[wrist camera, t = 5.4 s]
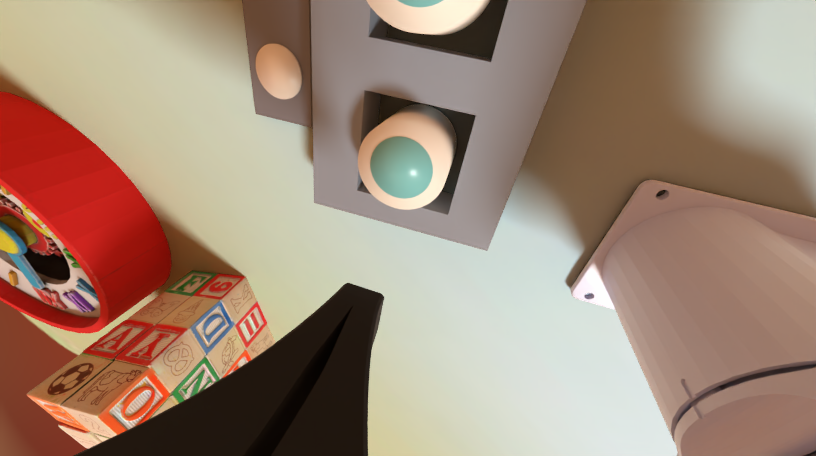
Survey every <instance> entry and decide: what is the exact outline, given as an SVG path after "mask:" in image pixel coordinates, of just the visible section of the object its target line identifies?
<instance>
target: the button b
mask: <svg viewBox="0 0 816 456" xmlns="http://www.w3.org/2000/svg"><path fill="white" fill-rule="evenodd" d="M366 1H367V2H368V4H369V5H370V7H371V8H372V9H373V10H374V11H375V13H376V14H377V15H378V16H379V17H381V18H382V19H383V20H384V21H385V22H387V23H388V24H390V25H391V26H393V27H395V28H398V29H400V30H403V31H406V32H410V33H419V34H431V35H447V34H452V33H455V32H458V31H460V30H462V29H464V28H466V27H467V26H469V25H470V24H471V23H473V22H474V21H475V20H476V19H477V18H478V17H479V16H480V15H481V14H482V12H483V11H484V10H485V8H486V7H487V5H488V4H489V2H490V0H366Z"/></svg>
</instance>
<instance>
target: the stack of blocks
mask: <svg viewBox="0 0 816 456" xmlns="http://www.w3.org/2000/svg"><path fill="white" fill-rule="evenodd" d="M273 344H275V340H274V338H273V336H272V334H271V332H270V330H269V328H268V326H267V322H266V320H265V318H264V315H263V313H262V311H261V309H260V307H259V305H258V302H257V300H256V298H255V295H254V293H253V291H252V289H251V287H250V284H249V282H248V280H247V278H246V277H244V276H235V275H226V274H214V273H206V272H197V271H191V272H190V273H188V274H187V275H186V276H184V277H183V278H181V279H180V280H179V281H177V282H176V283H175V284H173V285H172V286H171V287H169V288H168V289H167V290H165V291H164V293H163V294H161V295H159V296H158V297H157V298H155V299H154V300H152V301H151V302H150V303H148V304H147V305H146V306H144V307H143V308H142V309H140V310H139V311H137V312H136V313H135V314H134V315H132V316H131V317H129V319H128V320H125V321H123V322H122V323H120V324H119V325H118V326H116V327H115V328H113V329H112V330H111V331H110V332H108V333H107V334H106V335H104V336H103V337H101V338H100V339H99V340H98V341H97V342H95V343H93V344H92V345H91V346H89V347H88V348H86V349H85V350H84V351H83V352H82V353H81V354H80V355H79V356H77V357H76V358H75V359H73V360H72V361H71V362H69V363H68V364H67V365H65V366H64V367H63V368H61V369H60V370H58V371H57V372H56V373H54V374H53V375H52V376H50V377H49V378H47V379H46V380H45V381H43V382H42V383H41V384H39V385H38V386H37V387H36V388H34V389H33V390H31V391H30V392H29V393H27V396H28V397H30V398H31V399H32V400H33V401H35V402H36V403H37V404H38V405H39V406H41V407H42V408H43V409H45V410H46V411H47V412H48V413H49V414H51V415H52V416H53V417H54V418H55V419H57V420H58V421H60V423H59V425H58V426H59V427H60V428H61V429H62V430H64V431H65V432H66V433H68V434H69V435H70V436H72V437H73V438H74V439H75V440H76V441H78V442H79V443H80V444H81V445H83V446H84V447H85V448H88V449H89V448H91V447H93V446H95V445H97V444H99V443H101V442H103V441H106V440H108V439H110V438H112V437H114V436H116V435H118V434H120V433H122V432H124V431H127V430H129V429H131V428H133V427H135V426H137V425H139V424H141V423H143V422H145V421H147V420H148V419H150V418H152V417H154V416H156V415H158V414H160V413H162V412H164V411H165V410H167V409H169V408H171V407H173V406H175V405H177V404H179V403H180V402H182V401H184V400H186V399H188V398H190V397H192V396H193V395H195V394H197V393H199V392H200V391H202V390H204V389H206V388H207V387H209V386H211V385H212V384H214V383H216V382H217V381H219V380H220V379H222V378H224V377H225V376H227V375H229V374H230V373H232V372H234V371H235V370H237V369H238V368H240V367H241V366H243V365H244V364H246V363H247V362H249V361H251V360H252V359H254V358H255V357H256V356H258V355H259V354H261V353H262V352H264V351H265V350H267V349H268V348H269V347H271V346H272V345H273Z"/></svg>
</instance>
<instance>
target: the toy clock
mask: <svg viewBox="0 0 816 456" xmlns="http://www.w3.org/2000/svg"><path fill="white" fill-rule="evenodd" d="M170 270H171V253H170V250H169V246H168V242H167V239H166V236H165V234H164V232H163V230H162V227H161V225H160V223H159V221H158V219H157V218H156V216H155V214H154V213H153V211H152V209H151V207H150V206H149V204H148V203H147V201H146V200H145V199H144V197H143V196H142V195H141V193H140V192H139V190H138V189H137V188H136V186H135V185H134V184H133V183H132V182H131V180H130V179H129V178H128V177H127V176H126V175H125V174H124V172H123V171H122V170H121V169H120V168H119V167H118V166H117V165H116V164H115V163H114V162H113V161H112V160H111V159H110V158H109V157H108V156H107V155H106V154H105V153H104V152H103V151H102V150H101V149H100V148H99V147H98V146H97V145H96V144H94V143H93V142H92V141H91V140H89V139H88V138H87V137H86V136H84V135H83V134H82V133H81V132H80V131H78V130H77V129H76V128H75V127H73V126H72V125H70V124H69V123H67V122H66V121H64V120H63V119H61V118H60V117H58V116H57V115H55V114H54V113H52V112H50V111H49V110H47V109H45V108H43V107H41V106H39V105H37V104H35V103H33V102H31V101H30V100H27V99H24V98H21V97H19V96H16V95H13V94H11V93H7V92H1V91H0V300H1V301H3V302H5V303H6V304H8V305H10V306H12V307H13V308H15V309H17V310H18V311H20V312H23V313H25V314H27V315H29V316H31V317H33V318H35V319H37V320H39V321H42V322H44V323H46V324H49V325H51V326H54V327H57V328H60V329H64V330H67V331H72V332H77V333H93V332H98V331H100V330H101V329H103V328H104V327H105V326H107V325H108V324H109V323H111V322H112V321H114V320H115V319H116V318H118V317H119V316H120V315H122V314H123V313H125V312H126V311H127V310H129V309H130V308H131V307H133V306H134V305H136V304H137V303H138V302H140V301H141V300H142V299H144V298H145V297H147V296H148V295H149V294H151V293H152V292H153V291H155V290H156V289H157V288H159V287H160V286H162V285H163V284H164V283H165V282H166V280H167V279H168V277H169V275H170Z"/></svg>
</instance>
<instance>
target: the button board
mask: <svg viewBox="0 0 816 456" xmlns="http://www.w3.org/2000/svg"><path fill="white" fill-rule="evenodd" d="M586 2H587V0H508V2H507V6H506V9H505V13H504V17H503V20H502V24H501V27H500V31H499V34H498V38H497V42H496V45H495V49H494V52H493V56H492V59H490V58H486V57H481V56H476V55H471V54H466V53H461V52H456V51H451V50H446V49H442V48H437V47H432V46H427V45H422V44H417V43H412V42H407V41H402V40H397V39H393V38H388V37H387V30H388V23H387V22H385V21H384V20H383V19H382V18H381V17H379V16H378V15H377V14H376V13H375V11H374V10H373V9H372V8H371V7H370V5H369V4H368V2H367V1H366V0H311V47H312V106H313V166H314V203H317V204H320V205H324V206H328V207H331V208H335V209H339V210H342V211H346V212H349V213H353V214H357V215H360V216H364V217H367V218H371V219H375V220H378V221H382V222H385V223H389V224H393V225H396V226H400V227H403V228H407V229H411V230H414V231H418V232H421V233H425V234H429V235H432V236H436V237H439V238H443V239H447V240H450V241H454V242H457V243H461V244H465V245H468V246H472V247H475V248H479V249H483V250H486V251H487V250H488V247H489V245H490V242H491V240H492V237H493V235H494V232H495V230H496V227H497V225H498V222H499V220H500V217H501V215H502V212H503V210H504V207H505V205H506V202H507V200H508V197H509V195H510V192H511V190H512V187H513V185H514V182H515V180H516V177H517V175H518V172H519V170H520V167H521V165H522V162H523V160H524V157H525V155H526V152H527V150H528V147H529V145H530V142H531V140H532V137H533V135H534V132H535V130H536V127H537V125H538V122H539V120H540V117H541V115H542V112H543V110H544V107H545V105H546V102H547V99H548V97H549V94H550V92H551V89H552V87H553V84H554V82H555V79H556V77H557V74H558V72H559V69H560V67H561V64H562V62H563V59H564V57H565V54H566V52H567V49H568V47H569V44H570V42H571V39H572V37H573V34H574V32H575V29H576V27H577V24H578V22H579V19H580V17H581V14H582V12H583V9H584V7H585V4H586ZM381 94H384V95H388V96H393V97H397V98H402V99H406V100H410V101H415V102H419V103H424V104H428V105H432V106H437V107H441V108H446V109H450V110H454V111H459V112H463V113H468V114H472V115H476V117H475V120H474V124H473V127H472V131H471V134H470V138H469V142H468V145H467V149H466V152H465V156H464V159H463V163H462V167H461V170H460V174H459V177H458V181H457V184H456V188H455V192H454V194H450V193H447V192H443V191H441V192H440V194H439V195H438V196H437V197H436V198H435V199H434V200H433V201H432V202H431V203H429V204H427V205H425V206H423V207H421V208H417V209H411V210H403V209H397V208H393V207H390V206H388V205H386V204H384V203H382V202H380V201H379V200H378V199H376V198H375V197H374V196H373V195H372V194H371V193H370V192H369V191H368V189H367V188H366V186H365V185H364V183H363V181H362V179H361V176H360V173H359V169H358V154H359V149H360V146H361V144H362V142H363V140H364V139H365V137H366V136H367V135H368V133H369V132H371V131H372V130H373V129H374V128H376V127H377V126H378V118H379V108H380V98H381Z"/></svg>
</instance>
